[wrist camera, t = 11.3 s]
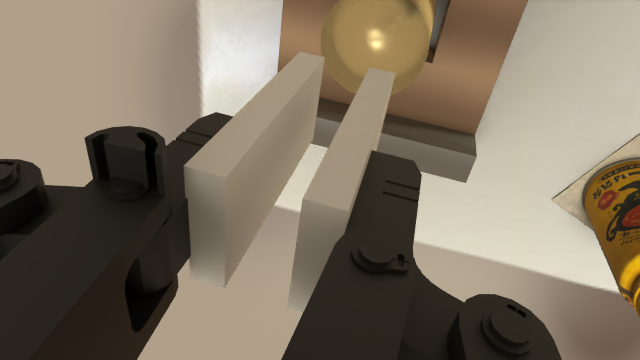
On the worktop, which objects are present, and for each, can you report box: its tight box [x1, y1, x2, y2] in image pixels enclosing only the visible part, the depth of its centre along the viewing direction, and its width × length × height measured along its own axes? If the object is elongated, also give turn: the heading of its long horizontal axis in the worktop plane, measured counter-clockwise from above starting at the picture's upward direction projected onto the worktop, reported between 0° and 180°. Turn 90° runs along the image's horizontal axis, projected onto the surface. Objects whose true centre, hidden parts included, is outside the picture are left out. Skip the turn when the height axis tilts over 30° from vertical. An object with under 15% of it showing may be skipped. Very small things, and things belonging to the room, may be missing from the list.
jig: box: [278, 0, 528, 183], centre depth 26 cm, size 15×14×6 cm
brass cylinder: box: [320, 0, 437, 95], centre depth 23 cm, size 5×5×12 cm
